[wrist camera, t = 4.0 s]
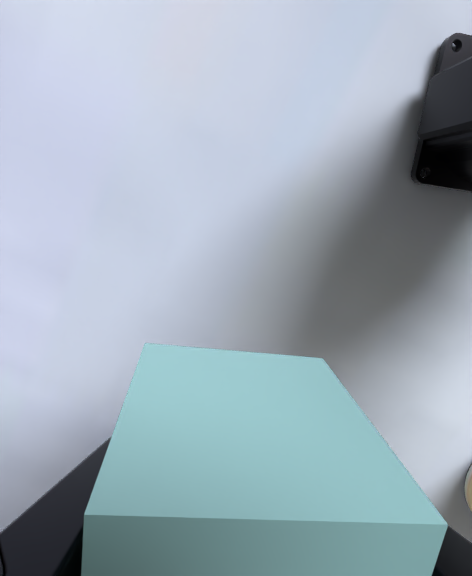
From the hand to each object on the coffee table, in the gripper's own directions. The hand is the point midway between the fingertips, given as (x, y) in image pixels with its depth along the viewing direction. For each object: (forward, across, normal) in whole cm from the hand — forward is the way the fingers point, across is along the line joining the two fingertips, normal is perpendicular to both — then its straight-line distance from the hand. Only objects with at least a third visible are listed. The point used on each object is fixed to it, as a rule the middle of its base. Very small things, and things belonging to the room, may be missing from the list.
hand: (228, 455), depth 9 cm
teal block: (+1, 0, 0) cm, 1 cm away
